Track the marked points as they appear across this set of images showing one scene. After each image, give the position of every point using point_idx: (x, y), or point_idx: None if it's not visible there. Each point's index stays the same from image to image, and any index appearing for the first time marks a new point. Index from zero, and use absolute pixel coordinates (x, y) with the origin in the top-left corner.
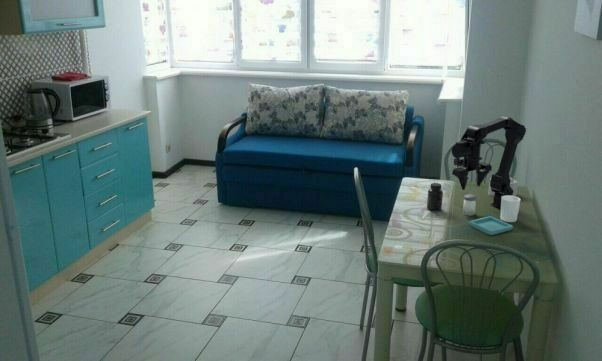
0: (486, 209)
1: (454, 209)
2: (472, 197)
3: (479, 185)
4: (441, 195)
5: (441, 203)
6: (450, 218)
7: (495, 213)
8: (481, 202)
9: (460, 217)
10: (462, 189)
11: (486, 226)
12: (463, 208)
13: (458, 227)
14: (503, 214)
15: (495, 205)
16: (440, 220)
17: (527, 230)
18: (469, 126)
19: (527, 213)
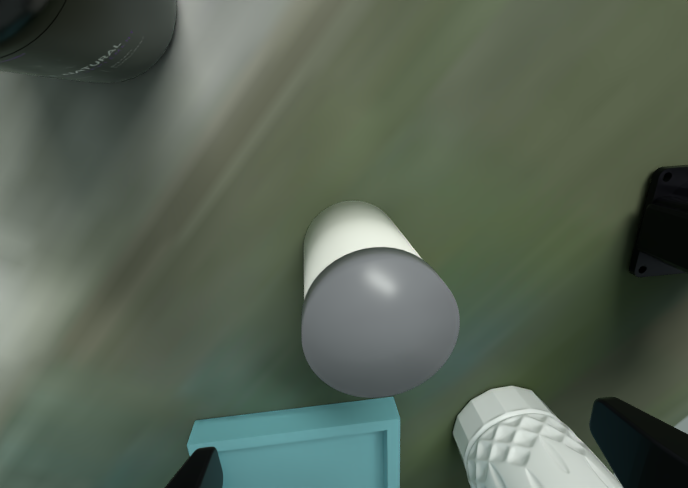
0: (535, 237)
1: (296, 118)
2: (374, 374)
3: (608, 447)
4: (13, 59)
5: (111, 67)
6: (131, 282)
7: (519, 323)
8: (650, 79)
9: (226, 294)
10: (197, 457)
11: (279, 481)
12: (307, 245)
13: (100, 428)
14: (468, 469)
15: (641, 235)
16: (17, 286)
17: None
18: None
19: (675, 388)
